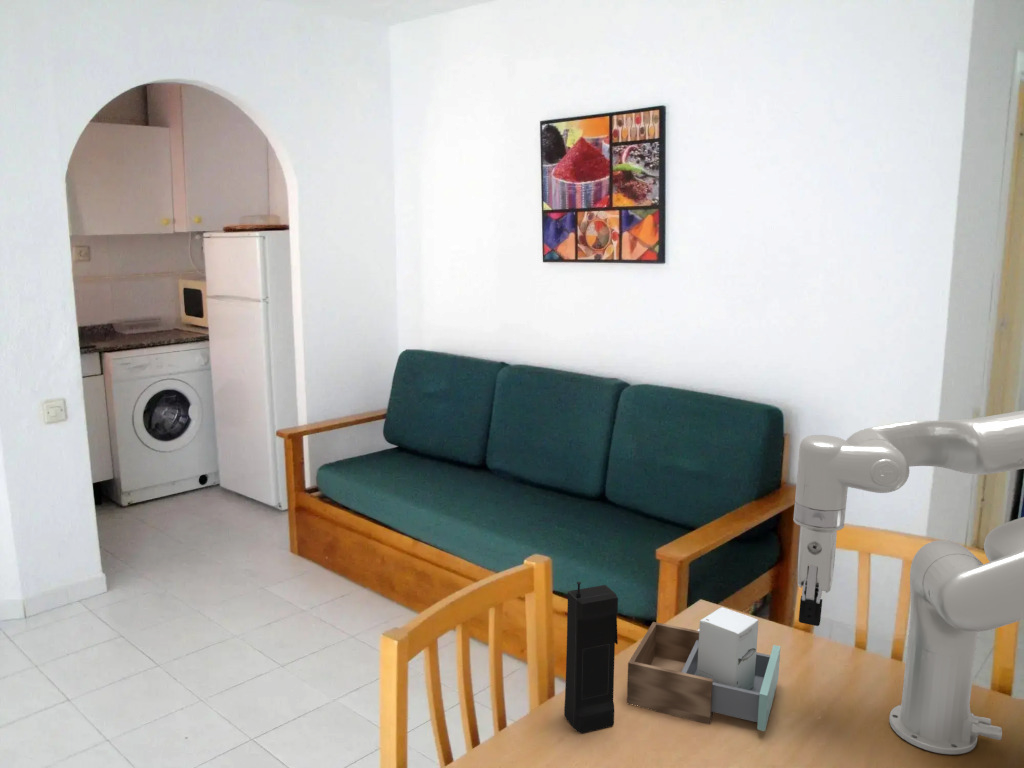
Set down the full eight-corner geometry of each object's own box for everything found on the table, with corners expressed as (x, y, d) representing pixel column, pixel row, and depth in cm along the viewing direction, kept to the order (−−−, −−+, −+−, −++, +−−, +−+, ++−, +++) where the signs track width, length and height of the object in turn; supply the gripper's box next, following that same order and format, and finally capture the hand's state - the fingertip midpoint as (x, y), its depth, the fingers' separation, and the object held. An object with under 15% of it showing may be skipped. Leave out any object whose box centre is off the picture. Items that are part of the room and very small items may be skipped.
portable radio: (604, 705, 139) (607, 566, 134) (621, 724, 133) (625, 581, 129) (561, 714, 136) (564, 573, 131) (577, 735, 130) (580, 588, 126)
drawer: (778, 678, 144) (780, 646, 143) (764, 731, 129) (767, 695, 128) (697, 661, 150) (698, 629, 149) (675, 709, 135) (677, 675, 134)
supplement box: (733, 705, 135) (737, 634, 132) (694, 687, 140) (698, 619, 137) (755, 687, 140) (760, 619, 137) (717, 671, 145) (720, 605, 142)
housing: (727, 675, 148) (729, 637, 146) (709, 724, 133) (711, 681, 132) (651, 659, 154) (653, 621, 152) (626, 703, 139) (628, 662, 138)
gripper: (842, 533, 120) (831, 648, 124) (847, 503, 133) (836, 608, 137) (788, 525, 123) (779, 637, 127) (798, 497, 137) (790, 599, 140)
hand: (809, 622), depth 132 cm, fingers closed
